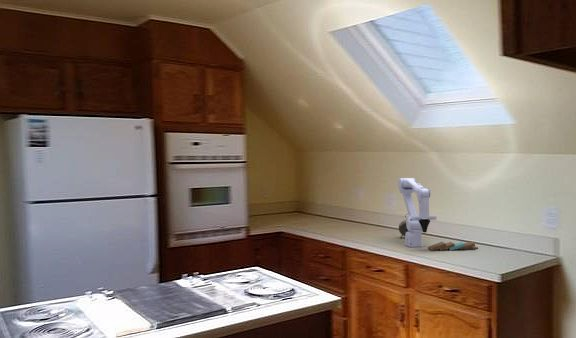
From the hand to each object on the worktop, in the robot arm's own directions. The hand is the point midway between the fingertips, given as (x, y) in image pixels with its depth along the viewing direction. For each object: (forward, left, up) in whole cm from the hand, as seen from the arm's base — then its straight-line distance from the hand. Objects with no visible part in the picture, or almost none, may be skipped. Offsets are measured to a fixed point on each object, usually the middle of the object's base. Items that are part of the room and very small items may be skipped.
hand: (424, 232), depth 294 cm
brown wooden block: (+3, -1, -10) cm, 10 cm away
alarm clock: (+7, +37, -11) cm, 39 cm away
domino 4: (+23, -2, -10) cm, 25 cm away
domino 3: (+20, -3, -9) cm, 22 cm away
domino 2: (+8, -2, -10) cm, 13 cm away
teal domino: (+14, -3, -10) cm, 17 cm away
